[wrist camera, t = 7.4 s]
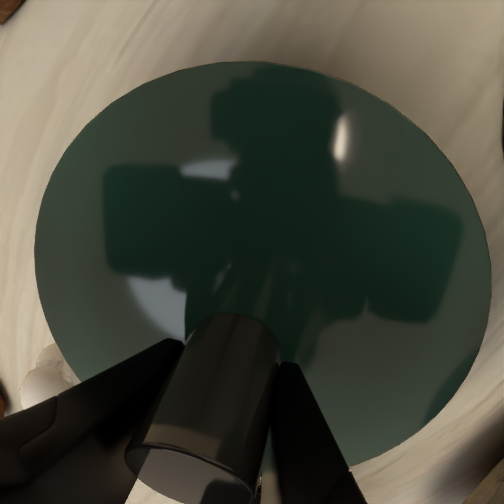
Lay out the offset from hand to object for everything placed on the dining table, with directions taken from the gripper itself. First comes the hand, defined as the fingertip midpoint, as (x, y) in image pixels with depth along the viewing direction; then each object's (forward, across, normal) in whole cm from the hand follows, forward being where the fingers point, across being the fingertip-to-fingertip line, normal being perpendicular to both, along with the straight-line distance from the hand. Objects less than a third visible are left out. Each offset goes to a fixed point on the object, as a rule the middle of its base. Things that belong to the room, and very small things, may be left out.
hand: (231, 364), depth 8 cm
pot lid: (+1, 0, 0) cm, 1 cm away
